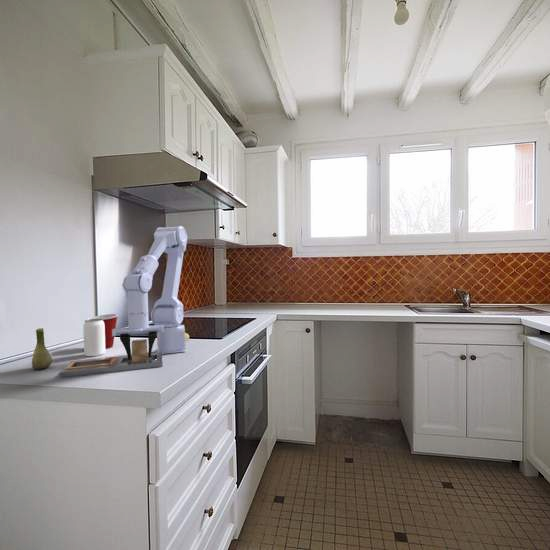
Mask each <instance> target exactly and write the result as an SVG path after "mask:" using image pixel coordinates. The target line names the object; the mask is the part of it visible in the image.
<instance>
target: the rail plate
mask: <svg viewBox="0 0 550 550" xmlns="http://www.w3.org/2000/svg"><path fill="white" fill-rule="evenodd" d="M163 357H164V356H163V354H162V352H159V353H156V352H151V357H148V353H147V361H138V362H132V354H131V359H128V356H127V355H120V356H110V357H100V358H90V359H89V358H88V359H80V360H79V359H78V360H72V361H70V362H69V363H68V365H66V366H65V367H64V368H63V369H62V370H61V371H60V373H59V374H60V379H61V378H62V379H63V378H70V377H71V378H72V377H80V376H90V375H98V374H107V373H116V372H117V371H118V372H126V371H133V370H134V371H135V369H136V370H142V369H144V368H145V369H152V368H151V367H154V368H161V367H160V366H162V367H163V361H162V358H163ZM155 359H157V360H155ZM145 369H144V370H145Z"/></svg>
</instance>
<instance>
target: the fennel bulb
mask: <svg viewBox="0 0 550 550" xmlns="http://www.w3.org/2000/svg"><path fill="white" fill-rule="evenodd" d="M35 333H36V344H35V347H34V351H33V354H32V358H31V368H32V369H33V370H40V369H41V370H44V369H47V368H48V367H50V366H51V365H52V362H53V358H52V356H51V354H50V352H49V350H48V349H47V347H46V345H45V333H44V328H43V327H41V328H37V329H36V330H35Z"/></svg>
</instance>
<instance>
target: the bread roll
mask: <svg viewBox="0 0 550 550" xmlns="http://www.w3.org/2000/svg"><path fill="white" fill-rule="evenodd" d="M187 340H188V341H189V340H190V335H189V334H188V333H186V332H185V341H186V342H188V341H187Z"/></svg>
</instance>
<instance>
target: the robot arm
mask: <svg viewBox="0 0 550 550" xmlns="http://www.w3.org/2000/svg"><path fill="white" fill-rule="evenodd" d="M153 238H154V241H153V242H152V245H151V246H150V249H149V251H148V253H147V254H146V255H143V256H141V257H140V258H139V261H138V263H137V264H136V265H135V267H134V269H133V270H132V271H131V273H129V274H127V275H126V276H125V277H124V279H123V282H122V285H121V286H122V288H123V291H124V292H125V298H126V299H127V315H128V316H127V319H128V320H127V322H128V323H127V324H128V326H127V327H120V328H116V329H113V330H112V336H115V337H117V336H119V340H120V342H121V343H122V345H123V347H124V349H125V352H126V356H128V359H131V355H132V347H131V335H139V334H140V335H141V334H143V335H144V334H148V336H147V338H148V342H147V343H148V350H147V354H148V357H151V353H152V351H153V346H154V344H155V341H156V346H157V348H156V352H155V353H159V352H162V355H165V354H177V353H186V346H187V341H185V333H186V332H185V331H186V329H185V325H184V324H182V322H183V320H184V317H185V316H184V304H183V303H182V301H180V300H179V299H178V296H179V295H178V294H179V287H180V279H181V273H182V267H183V259H184V253H185V252H186V251H187V243H188V234H187V231H186V229H185V227H184V226H182V225H179V226H172V227H171V226H169V227H167V226H166V227H162V226H161V227H157V228H156V229H155V232H154V233H153ZM163 253H165V254H167V261H166V266H165V267H166V268H165V274H164V280H163V287H162V293H161V297H160V298H159V299H158V300H156V301H154V305H153V309H152V310H151V313H150V319H151V322H152V323H153V325H149V324H150V323H149V321H150V319H149V293H148V292H149V291H150V290H151V289H152V285H153V279H154V277H153V276H154V274H155V272H156V270H157V269H158V267H159V261H158V260H159V258H160V257H161V255H163Z"/></svg>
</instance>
